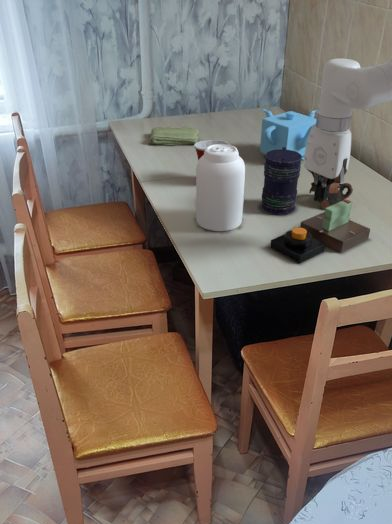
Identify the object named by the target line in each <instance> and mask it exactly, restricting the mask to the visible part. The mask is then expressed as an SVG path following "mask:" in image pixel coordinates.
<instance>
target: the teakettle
mask: <svg viewBox="0 0 392 524" xmlns="http://www.w3.org/2000/svg"><path fill="white" fill-rule="evenodd" d="M262 110H263V112H264V113H265V115H266V117H264V118H262V120H261V133H260V146H259V152H260V153H263V154H265V155H266V153H267V152H269V151H271V150H278V149H282V147H286V148H287V149H286V150H292V151H295V152H298V153H299V154H301V156H302V158H301V160H304V155H305V150H306V145H307V141H308V138H309V134H310V131H311V129H312V126H313V125H314V124H316V120H317V118H316V117H315V116H314V114H315V112H316V111H318V109H317V110H312V111H311V112H310V113H309V114H308V115H305V114H302V113H299V112H296V111H293V110H290V111H286V112H283V113H279V114H275V115H273V113H272V111H271V110H269V109H267V108H263V109H262Z"/></svg>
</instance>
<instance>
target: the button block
mask: <svg viewBox="0 0 392 524" xmlns="http://www.w3.org/2000/svg"><path fill="white" fill-rule="evenodd" d="M291 235H292V229H290V230H288V231H286V233H284V234H282V235H279V236H277V237H275V238H272V239H271V240H270V245H269V248H270V249H272V250H274V251H275V252H277V253H279V254H281V255H283V256H285V257H286V258H289V259H290V260H292V261H294V262H296V263H298V264H302V263H303V262H307V261H309V260H310V259H313V258H315V257H316V256H318V255H321V254H323V253H324V252H325V248H326V245H325V244H324V243H322V242H320V241H318V240H316V239H314V238H312V235H311V233H309V232H307V234H306V238H305V239H303V240H298V239H294V238H292V237H291Z"/></svg>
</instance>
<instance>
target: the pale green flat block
mask: <svg viewBox="0 0 392 524" xmlns="http://www.w3.org/2000/svg"><path fill="white" fill-rule="evenodd" d="M352 205H353V202H352V201H351V200H349V199H347V198H346V199H344V200H343V201H341V202H339V203H337V204H334V205H332V206H330V207H327V208H325V209H324V212H325V214H324V220H323V226H322V228H323V229H325V230H327V231H330V230H332V229H335V228H337V227H339V226H341V225H343V224H345V223H348V221H349V220H350V219H349V218H350V215H351V211H352Z"/></svg>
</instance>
